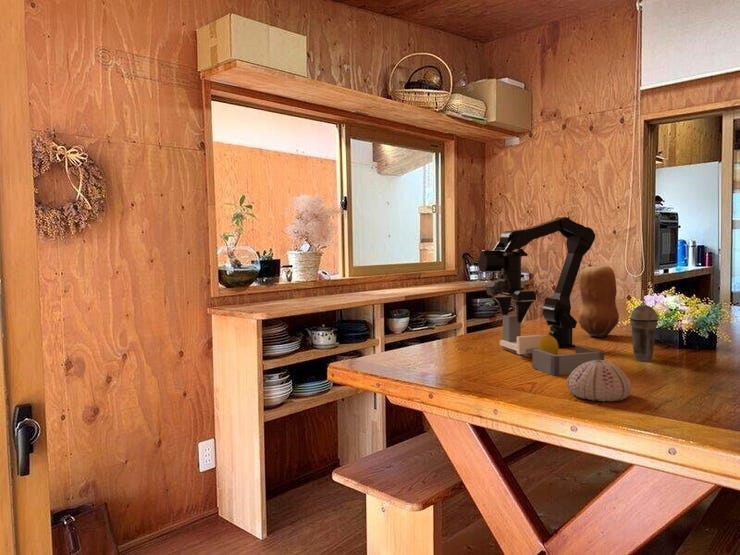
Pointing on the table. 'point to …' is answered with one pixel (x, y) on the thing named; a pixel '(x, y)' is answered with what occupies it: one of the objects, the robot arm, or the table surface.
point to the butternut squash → (598, 300)
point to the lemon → (548, 344)
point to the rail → (516, 352)
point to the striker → (517, 336)
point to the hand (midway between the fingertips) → (511, 320)
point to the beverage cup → (643, 331)
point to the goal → (564, 360)
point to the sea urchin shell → (599, 381)
